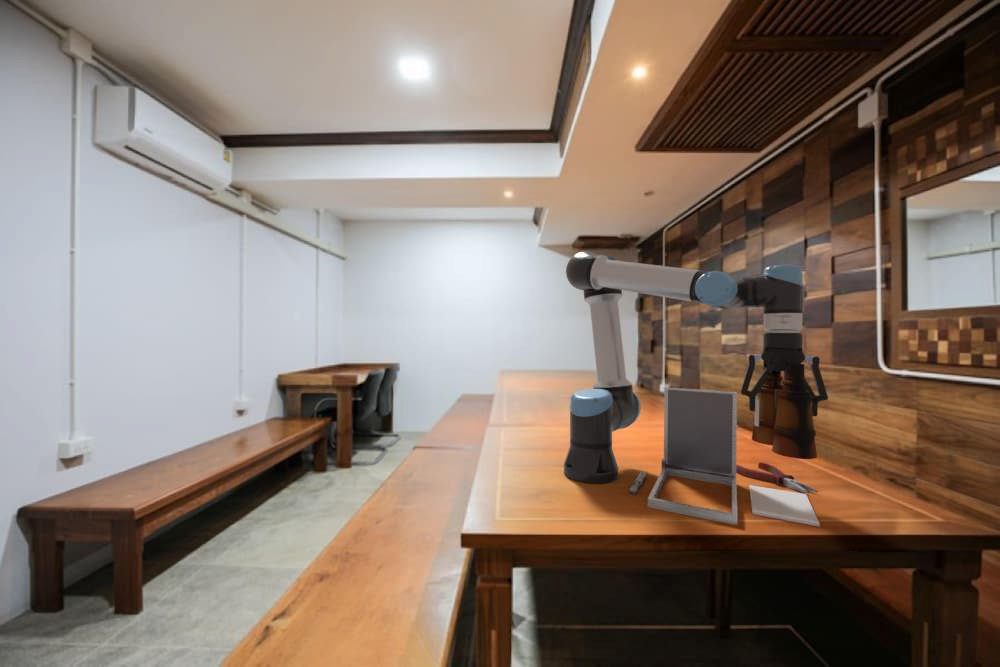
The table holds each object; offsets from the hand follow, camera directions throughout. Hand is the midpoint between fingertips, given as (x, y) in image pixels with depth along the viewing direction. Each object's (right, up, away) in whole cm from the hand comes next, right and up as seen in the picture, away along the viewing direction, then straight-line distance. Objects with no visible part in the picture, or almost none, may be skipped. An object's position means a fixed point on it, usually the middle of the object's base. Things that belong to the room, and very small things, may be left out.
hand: (781, 427), depth 97 cm
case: (-18, -18, +6) cm, 26 cm away
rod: (-30, -18, +12) cm, 37 cm away
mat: (0, -18, 0) cm, 18 cm away
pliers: (+8, -19, +16) cm, 26 cm away
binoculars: (0, -5, 0) cm, 5 cm away
